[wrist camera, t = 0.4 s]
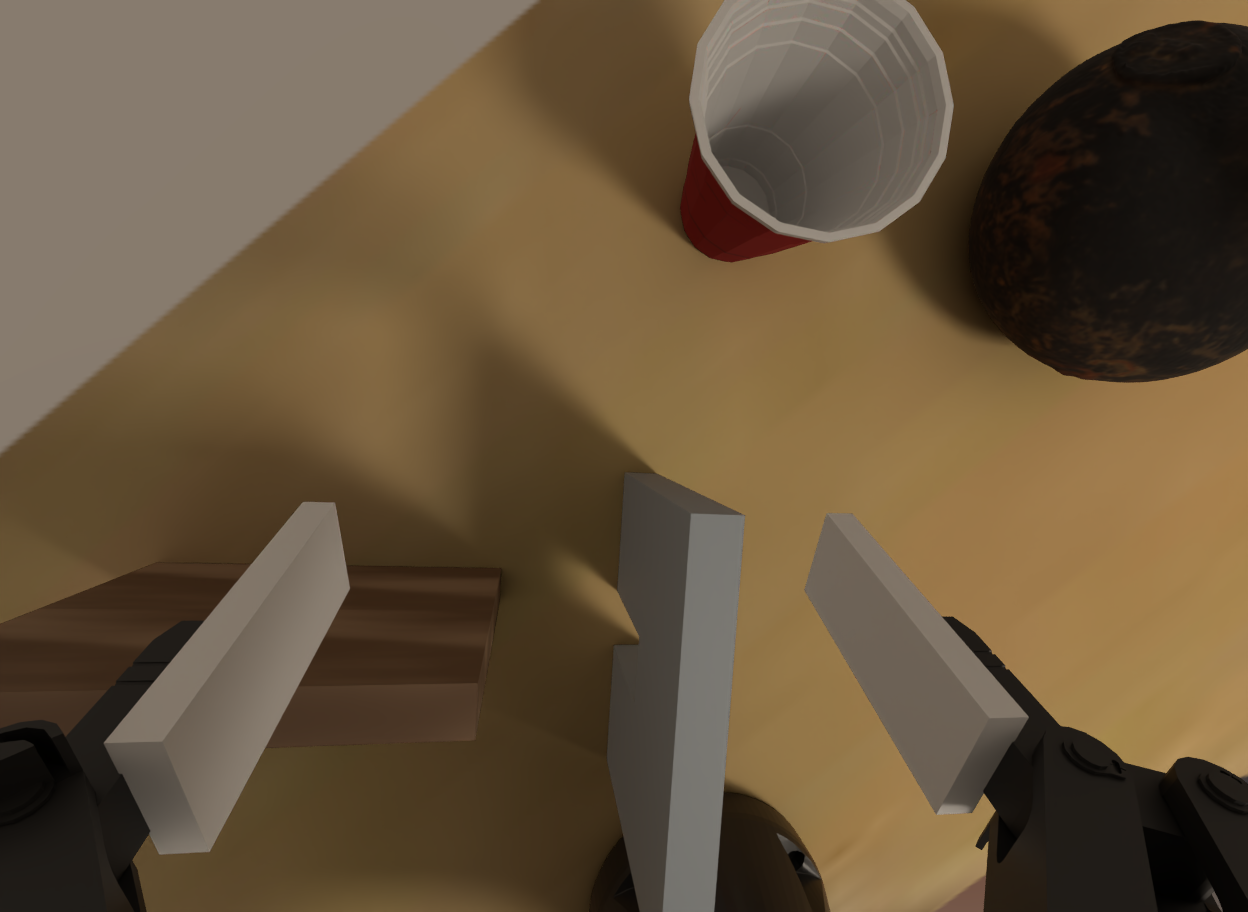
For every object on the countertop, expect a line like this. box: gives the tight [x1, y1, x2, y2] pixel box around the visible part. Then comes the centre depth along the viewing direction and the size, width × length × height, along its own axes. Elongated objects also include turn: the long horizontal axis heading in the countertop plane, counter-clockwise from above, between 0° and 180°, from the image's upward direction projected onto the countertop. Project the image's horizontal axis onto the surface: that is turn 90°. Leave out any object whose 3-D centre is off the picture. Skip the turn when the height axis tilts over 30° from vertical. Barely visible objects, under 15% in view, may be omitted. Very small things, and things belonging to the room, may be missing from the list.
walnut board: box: [0, 563, 501, 748], centre depth 24 cm, size 2×18×14 cm, turn 86°
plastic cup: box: [680, 0, 954, 262], centre depth 27 cm, size 11×11×12 cm
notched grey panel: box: [607, 472, 745, 912], centre depth 27 cm, size 18×2×14 cm, turn 176°
